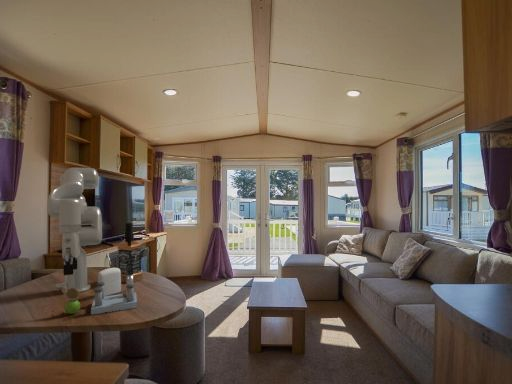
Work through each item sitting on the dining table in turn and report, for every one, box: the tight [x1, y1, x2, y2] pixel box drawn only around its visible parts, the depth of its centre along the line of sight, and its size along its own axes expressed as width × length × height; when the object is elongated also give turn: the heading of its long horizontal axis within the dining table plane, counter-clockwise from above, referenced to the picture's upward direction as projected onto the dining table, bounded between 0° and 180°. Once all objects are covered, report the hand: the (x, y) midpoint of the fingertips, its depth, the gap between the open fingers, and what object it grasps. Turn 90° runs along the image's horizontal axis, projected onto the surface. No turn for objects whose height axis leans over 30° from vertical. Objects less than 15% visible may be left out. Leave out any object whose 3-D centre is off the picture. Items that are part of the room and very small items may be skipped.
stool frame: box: [90, 282, 138, 316], centre depth 130 cm, size 17×14×9 cm
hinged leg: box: [126, 275, 134, 285], centre depth 134 cm, size 8×3×8 cm, turn 23°
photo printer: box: [97, 267, 122, 296], centre depth 145 cm, size 10×4×12 cm, turn 140°
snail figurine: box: [62, 284, 81, 315], centre depth 122 cm, size 5×6×12 cm
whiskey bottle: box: [117, 222, 143, 284], centre depth 169 cm, size 10×10×32 cm
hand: (70, 272), depth 122 cm, fingers open, 9 cm apart
